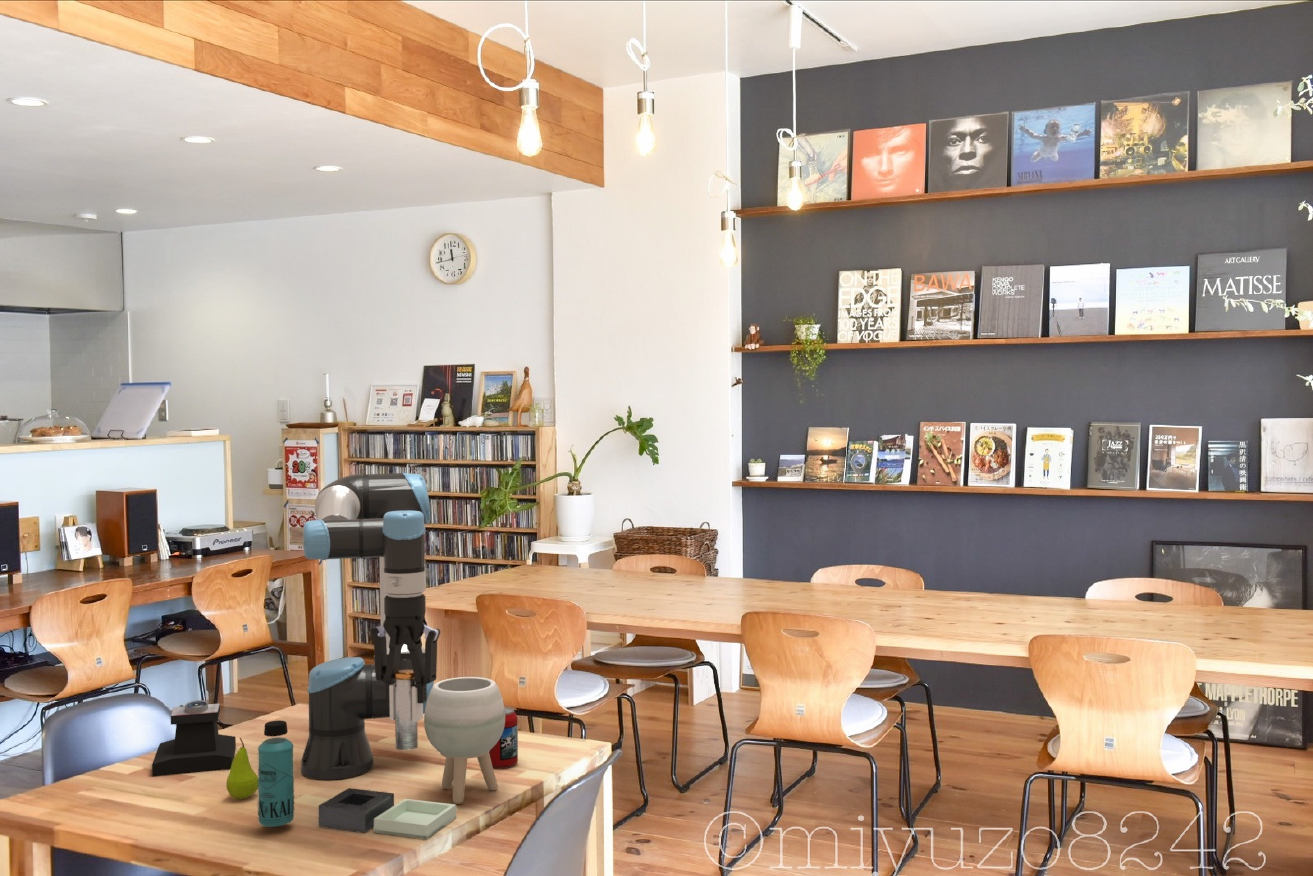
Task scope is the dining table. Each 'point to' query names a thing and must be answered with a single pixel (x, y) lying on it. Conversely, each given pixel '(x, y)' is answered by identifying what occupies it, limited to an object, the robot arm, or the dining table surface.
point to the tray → (415, 819)
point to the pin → (404, 711)
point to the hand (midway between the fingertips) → (406, 719)
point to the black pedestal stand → (195, 742)
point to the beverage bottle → (275, 777)
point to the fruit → (241, 776)
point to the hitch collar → (354, 809)
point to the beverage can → (506, 742)
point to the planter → (464, 727)
